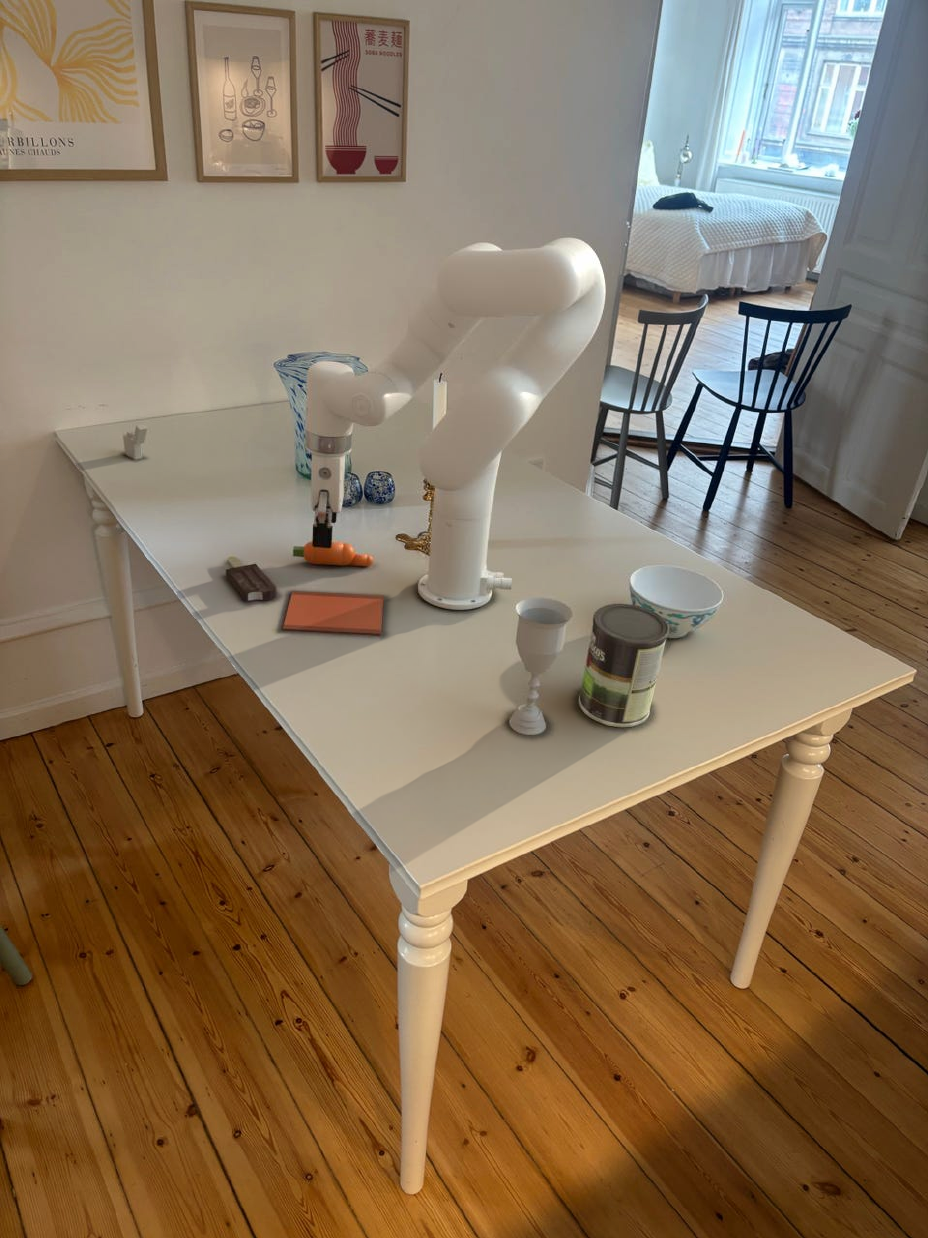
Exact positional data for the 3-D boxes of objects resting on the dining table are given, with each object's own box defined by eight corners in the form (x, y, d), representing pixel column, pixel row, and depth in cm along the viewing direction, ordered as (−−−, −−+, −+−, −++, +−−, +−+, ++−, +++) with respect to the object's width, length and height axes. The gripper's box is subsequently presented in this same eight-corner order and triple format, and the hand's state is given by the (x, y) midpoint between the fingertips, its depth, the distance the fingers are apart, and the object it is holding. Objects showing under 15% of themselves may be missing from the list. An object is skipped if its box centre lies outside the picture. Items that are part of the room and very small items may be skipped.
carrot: (373, 560, 165) (373, 540, 163) (372, 571, 162) (372, 550, 160) (294, 556, 164) (294, 535, 162) (292, 566, 161) (291, 546, 159)
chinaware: (603, 620, 154) (610, 579, 150) (660, 596, 163) (669, 557, 159) (673, 662, 145) (684, 619, 141) (731, 635, 153) (742, 594, 149)
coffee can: (585, 727, 128) (601, 641, 121) (572, 684, 137) (587, 601, 130) (658, 729, 129) (678, 643, 122) (640, 686, 138) (658, 604, 131)
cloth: (383, 597, 154) (383, 595, 154) (380, 635, 144) (380, 633, 144) (292, 592, 153) (292, 590, 153) (282, 630, 143) (282, 628, 143)
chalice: (551, 710, 131) (569, 599, 122) (556, 740, 125) (576, 626, 116) (499, 707, 130) (513, 596, 121) (502, 737, 125) (517, 622, 115)
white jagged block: (124, 453, 198) (120, 417, 194) (131, 452, 199) (128, 416, 195) (142, 463, 194) (139, 427, 190) (150, 462, 195) (146, 425, 191)
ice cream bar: (216, 564, 159) (248, 604, 149) (215, 556, 158) (247, 595, 148) (245, 559, 162) (279, 598, 151) (245, 550, 161) (278, 589, 150)
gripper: (347, 462, 145) (342, 559, 154) (354, 424, 159) (349, 514, 168) (299, 457, 144) (296, 555, 153) (310, 419, 159) (308, 510, 168)
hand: (324, 533), depth 161 cm, fingers open, 9 cm apart
